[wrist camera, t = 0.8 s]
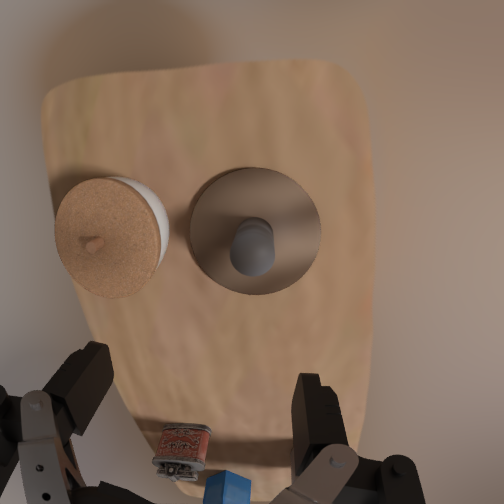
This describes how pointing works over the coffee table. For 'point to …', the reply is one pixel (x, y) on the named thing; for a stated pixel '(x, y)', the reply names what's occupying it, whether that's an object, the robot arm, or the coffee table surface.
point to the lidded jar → (111, 235)
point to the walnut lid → (255, 231)
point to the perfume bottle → (227, 489)
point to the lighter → (182, 451)
